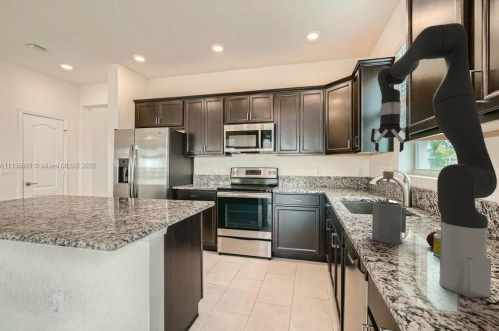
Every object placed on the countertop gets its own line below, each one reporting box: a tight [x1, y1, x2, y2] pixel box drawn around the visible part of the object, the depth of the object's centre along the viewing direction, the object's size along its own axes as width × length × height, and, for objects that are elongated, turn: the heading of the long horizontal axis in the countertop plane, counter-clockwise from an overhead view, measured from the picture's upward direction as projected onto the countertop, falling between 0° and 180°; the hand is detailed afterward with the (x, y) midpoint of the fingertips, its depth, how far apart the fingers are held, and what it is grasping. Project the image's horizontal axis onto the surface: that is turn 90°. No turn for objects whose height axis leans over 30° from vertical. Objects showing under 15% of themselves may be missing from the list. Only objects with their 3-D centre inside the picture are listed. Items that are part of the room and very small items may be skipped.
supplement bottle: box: [432, 227, 441, 258], centre depth 87 cm, size 5×5×10 cm
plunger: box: [382, 170, 395, 205], centre depth 104 cm, size 8×8×18 cm
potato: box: [426, 230, 437, 249], centre depth 94 cm, size 7×8×7 cm
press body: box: [371, 200, 407, 245], centre depth 104 cm, size 11×14×16 cm
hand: (388, 152), depth 103 cm, fingers open, 8 cm apart
